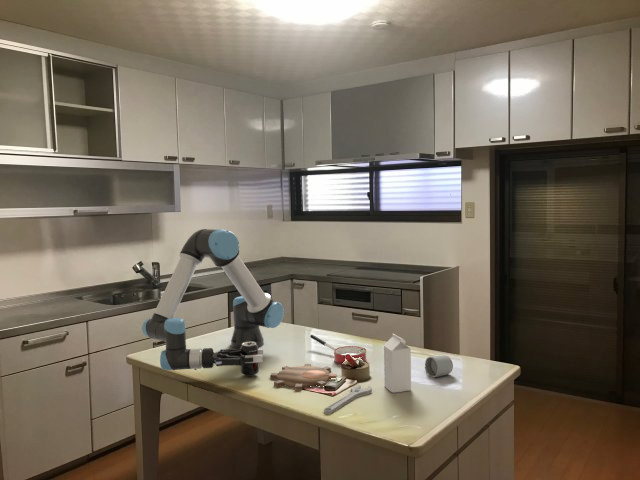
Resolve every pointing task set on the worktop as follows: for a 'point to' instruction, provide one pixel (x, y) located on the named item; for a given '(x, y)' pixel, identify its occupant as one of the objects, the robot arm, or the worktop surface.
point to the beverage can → (247, 349)
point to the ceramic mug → (438, 365)
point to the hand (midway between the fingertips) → (262, 355)
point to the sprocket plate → (302, 376)
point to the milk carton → (397, 365)
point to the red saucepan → (343, 351)
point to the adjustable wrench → (348, 398)
